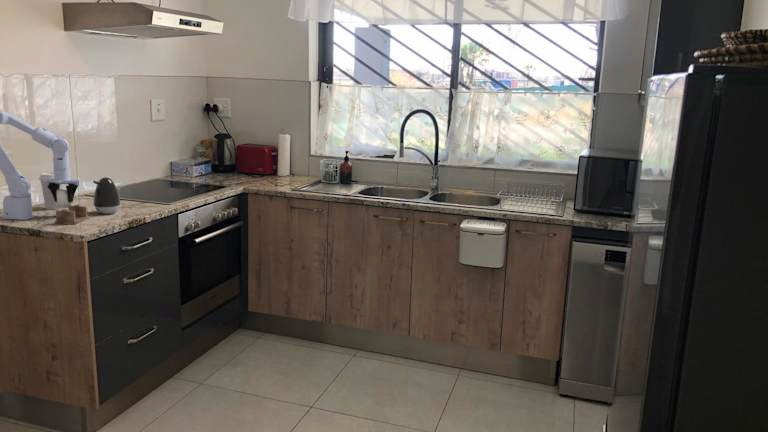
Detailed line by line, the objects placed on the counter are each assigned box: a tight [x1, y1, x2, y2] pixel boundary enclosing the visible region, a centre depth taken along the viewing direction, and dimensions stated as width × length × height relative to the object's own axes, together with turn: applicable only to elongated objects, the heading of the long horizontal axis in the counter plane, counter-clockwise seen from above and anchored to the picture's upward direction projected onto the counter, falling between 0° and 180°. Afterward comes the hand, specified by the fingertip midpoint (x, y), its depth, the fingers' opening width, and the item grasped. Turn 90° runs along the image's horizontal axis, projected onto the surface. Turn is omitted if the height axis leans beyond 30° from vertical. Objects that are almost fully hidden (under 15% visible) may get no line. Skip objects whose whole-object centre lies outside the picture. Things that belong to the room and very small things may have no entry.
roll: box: [56, 188, 72, 209], centre depth 244 cm, size 5×5×7 cm
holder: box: [54, 204, 90, 226], centre depth 237 cm, size 8×11×6 cm
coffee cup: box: [38, 171, 64, 211], centre depth 257 cm, size 10×10×15 cm
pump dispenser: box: [92, 176, 121, 215], centre depth 252 cm, size 10×10×15 cm
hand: (63, 201), depth 244 cm, fingers closed on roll, 5 cm apart
